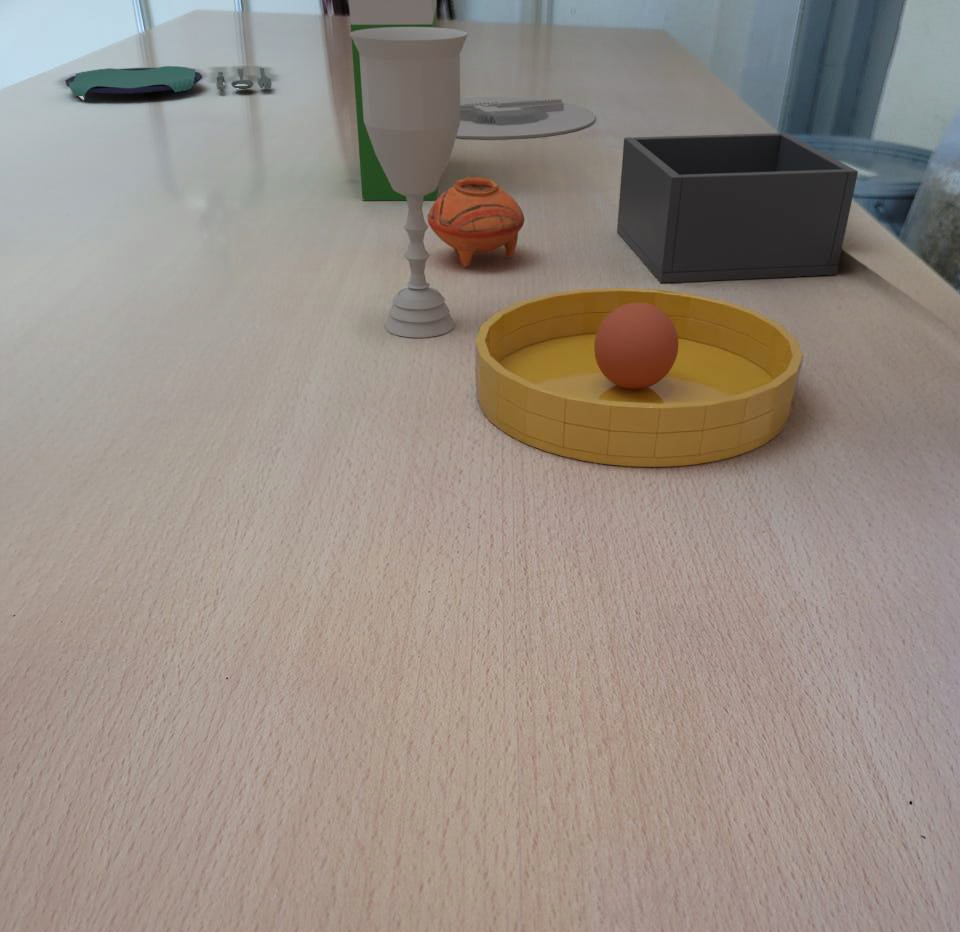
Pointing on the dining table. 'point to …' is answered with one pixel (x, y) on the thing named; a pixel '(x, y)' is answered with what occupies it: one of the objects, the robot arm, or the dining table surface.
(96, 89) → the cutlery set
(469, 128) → the plate
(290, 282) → the dining table surface
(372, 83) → the chalice
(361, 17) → the white green box
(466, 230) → the pot
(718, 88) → the dining table surface
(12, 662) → the dining table surface
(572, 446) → the bowl
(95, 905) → the dining table surface
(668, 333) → the toy ball
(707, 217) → the bin
